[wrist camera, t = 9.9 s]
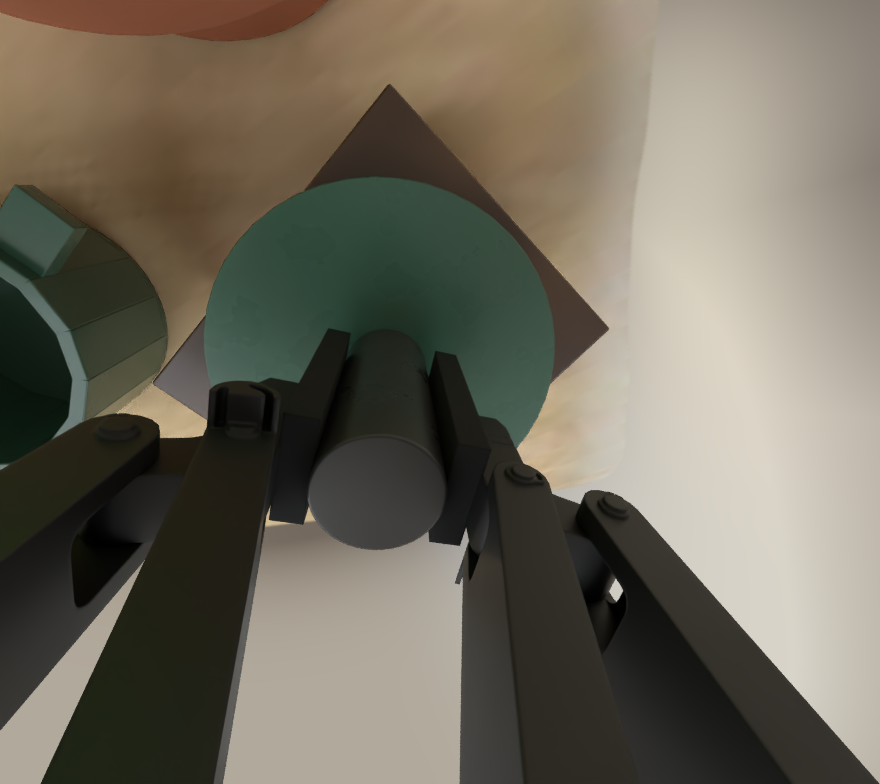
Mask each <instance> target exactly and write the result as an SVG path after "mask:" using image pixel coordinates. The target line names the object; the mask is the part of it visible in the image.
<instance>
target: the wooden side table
mask: <svg viewBox="0 0 880 784" xmlns="http://www.w3.org/2000/svg"><path fill="white" fill-rule="evenodd" d="M369 176H379V177H397V178H404V179H409V180H414V181H419V182H424V183H427V184H430V185H433V186H436V187H439V188H441V189H444V190H447V191H450V192H452V193H454V194H456V195H458V196H460V197H461V198H463V199H465V200H467V201H469V202H471V203H473V204H474V205H476V206H477V207H479V208H480V209H481V210H483V211H484V212H486V213H487V214H488V215H490V216H491V217H493V218H494V219H495V220H496V221H497V222H498V223H499V224H500V225H501V226H502V227H503V228H504V229H505V230H506V231H507V232H509V233H510V234H511V235H512V237H513V238H514V239H515V240H516V242H517V243H518V244H519V245H520V247H521V248H522V249H523V251H524V252H525V253H526V254H527V256H528V258H529V260H530V261H531V263H532V265H533V266H534V268H535V270H536V271H537V273H538V275H539V278H540V280H541V282H542V285H543V287H544V290H545V292H546V295H547V298H548V302H549V306H550V310H551V313H552V318H553V327H554V335H555V353H554V365H553V371H552V378H551V382H550V384H551V383H552V382H553V381H554V380H555V379H556V378H557V377H558V376H559V375H560V374H561V373H562V372H564V371H565V370H566V369H567V368H568V367H569V366H570V365H571V364H572V363H573V362H574V361H575V360H577V359H578V358H579V357H580V356H581V355H582V354H583V353H584V352H585V351H586V350H587V349H588V348H590V347H591V346H592V345H593V344H594V343H595V342H596V341H597V340H598V339H599V338H600V337H601V336H603V335H604V334H605V333H606V332H607V331H608V330H609V327H608V326H607V325H606V324H605V323H604V322H603V321H602V320H601V318H600V317H599V316H598V315H597V314H596V313H595V312H594V311H593V309H592V308H591V307H590V306H589V305H588V304H587V303H586V302H585V301H584V299H583V298H582V297H581V296H580V295H579V294H578V293H577V292H576V290H575V289H574V288H573V287H572V286H571V285H570V284H569V283H568V282H567V280H566V279H565V278H564V277H563V276H562V275H561V274H560V273H559V272H558V270H557V269H556V268H555V267H554V266H553V265H552V264H551V263H550V261H549V260H548V259H547V258H546V257H545V256H544V255H543V254H542V253H541V251H540V250H539V249H538V248H537V247H536V246H535V245H534V244H533V242H532V241H531V240H530V239H529V238H528V237H527V236H526V235H525V234H524V232H523V231H522V230H521V229H520V228H519V227H518V226H517V225H516V224H515V222H514V221H513V220H512V219H511V218H510V217H509V216H508V215H507V213H506V212H505V211H504V210H503V209H502V208H501V207H500V206H499V205H498V203H497V202H496V201H495V200H494V199H493V198H492V197H491V196H490V194H489V193H488V192H487V191H486V190H485V189H484V188H483V187H482V186H481V184H480V183H479V182H478V181H477V180H476V179H475V178H474V177H473V176H472V174H471V173H470V172H469V171H468V170H467V169H466V168H465V167H464V165H463V164H462V163H461V162H460V161H459V160H458V159H457V158H456V157H455V155H454V154H453V153H452V152H451V151H450V150H449V149H448V148H447V146H446V145H445V144H444V143H443V142H442V141H441V140H440V139H439V138H438V136H437V135H436V134H435V133H434V132H433V131H432V130H431V129H430V128H429V126H428V125H427V124H426V123H425V122H424V121H423V120H422V119H421V117H420V116H419V115H418V114H417V113H416V112H415V111H414V110H413V109H412V107H411V106H410V105H409V104H408V103H407V102H406V101H405V100H404V99H403V97H402V96H401V95H400V94H399V93H398V92H397V91H396V90H395V88H394V87H393V86H392V85H390V84H389V85H387V87H386V88H385V89H384V90H383V92H382V93H381V94H380V95H379V97H378V98H377V99H376V100H375V102H374V103H373V104H372V106H371V107H370V108H369V109H368V111H367V112H366V113H365V114H364V116H363V117H362V118H361V119H360V121H359V122H358V123H357V124H356V126H355V127H354V128H353V130H352V131H351V132H350V133H349V135H348V136H347V137H346V138H345V140H344V141H343V142H342V143H341V145H340V146H339V147H338V149H337V150H336V151H335V152H334V154H333V155H332V156H331V157H330V159H329V160H328V161H327V162H326V164H325V165H324V166H323V167H322V169H321V170H320V171H319V173H318V174H317V175H316V176H315V178H314V179H313V180H312V181H311V183H310V184H309V185H308V186H307V188H306V189H305V190H304V191H306V190H308V189H311V188H313V187H316V186H318V185H321V184H325V183H330V182H334V181H338V180H342V179H346V178H358V177H369ZM205 318H206V315H205V317H204V318H203V319H202V320H201V322H200V323H199V324H198V326H197V327H196V328H195V329H194V331H193V332H192V333H191V334H190V336H189V337H188V338H187V339H186V341H185V342H184V343H183V345H182V346H181V347H180V348H179V350H178V351H177V352H176V353H175V355H174V356H173V357H172V358H171V360H170V361H169V362H168V363H167V365H166V366H165V367H164V369H163V370H162V371H161V372H160V374H159V375H158V376H157V377H156V379H155V380H154V381H153V384H154V385H155V386H157V387H158V388H160V389H161V390H163V391H164V392H166V393H167V394H169V395H170V396H172V397H173V398H175V399H176V400H178V401H179V402H181V403H182V404H184V405H185V406H187V407H188V408H190V409H191V410H193V411H194V412H196V413H197V414H199V415H200V416H202V417H203V418H205V419H206V420H207V418H208V401H209V390H210V389H211V388H212V387H211V384H210V380H209V377H208V372H207V366H206V360H205V354H204V326H205Z"/></svg>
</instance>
